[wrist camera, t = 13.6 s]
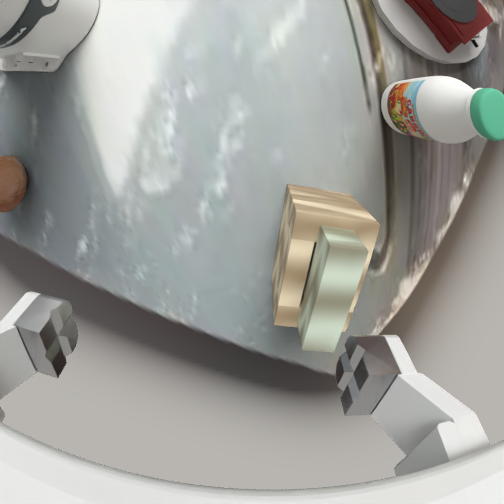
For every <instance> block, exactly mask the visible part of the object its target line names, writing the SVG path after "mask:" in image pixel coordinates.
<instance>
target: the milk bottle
mask: <svg viewBox="0 0 504 504" xmlns="http://www.w3.org/2000/svg"><path fill="white" fill-rule="evenodd" d="M381 110H382V114H383V116H384V119H385V120H386V122H387V123H388V125H389V126H390V127H391V128H392V129H394V130H395V131H397V132H399V133H401V134H405V135H409V136H414V137H418V138H423V139H427V140H432V141H436V142H441V143H447V144H457V143H462V142H465V141H468V140H469V139H471V138H473V137H474V136H476V135H478V136H480V137H482V138H487V139H490V140H495V141H500V140H503V139H504V95H503V94H502V93H501V92H500V91H498V90H496V89H492V88H477V89H472V88H471V87H469V86H468V85H467V84H465V83H464V82H462V81H460V80H458V79H455V78H452V77H448V76H429V77H421V78H414V79H408V80H403V81H398V82H395V83H392V84H391V85H389V86H388V87H387V88H386V89H385V91H384V93H383V95H382V99H381Z"/></svg>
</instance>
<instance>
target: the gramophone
mask: <svg viewBox="0 0 504 504" xmlns="http://www.w3.org/2000/svg"><path fill="white" fill-rule="evenodd" d="M372 2H373V4H374V7H375V9H376V11H377V14H378V15H379V16H380V18H381V19H382V20H383V22H384V23H385V25H386V26H387V27H388V29H389V30H390V31H391V33H392V34H394V35H395V36H396V37H397V38H398V39H399V40H400V41H401V42H402V43H404V44H405V45H406V46H407V47H408V48H409V49H411V50H413V51H414V52H416V53H418V54H419V55H421V56H423V57H424V58H426V59H429V60H432V61H436V62H439V63H442V64H455V63H465V62H468V61H469V60H471V59H473V58H475V57H477V56H478V55H479V53H480V52H481V50H482V49H483V47H484V46H485V41H486V35H487V26H488V25H489V24H490V23H491V22H492V21H493V20H492V18H491V17H490V16H489V14H488V13H487V11H486V10H485V9H484V7H483V6H482V4H481V3H480V2H479V0H372Z"/></svg>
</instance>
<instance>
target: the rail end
mask: <svg viewBox="0 0 504 504" xmlns="http://www.w3.org/2000/svg"><path fill="white" fill-rule="evenodd" d="M368 252H369V251H368V250H367V248H366V247H365V245H364V244H363V242H362V241H361V239H360V238H359V237H358V235H357V234H356V232H355V231H354V230H349V229H343V228H337V227H330V226H323V225H320V230H319V234H318V239H317V242H314V247H313V251H312V256H311V260H310V264H309V269H308V273H307V277H306V281H305V285H304V289H303V301H302V305H301V309H300V313H299V317H298V321H297V322H298V329H299V337H300V344H301V350H307V351H322V352H334V350H335V348H336V345H337V342H338V340H339V337H340V335H341V332H342V329H343V327H344V324H345V321H346V319H347V316H348V313H349V310H350V307H351V305H352V302H353V299H354V296H355V293H356V290H357V287H358V284H359V281H360V278H361V275H362V271H363V268H364V265H365V262H366V259H367V255H368Z"/></svg>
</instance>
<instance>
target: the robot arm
mask: <svg viewBox="0 0 504 504" xmlns="http://www.w3.org/2000/svg"><path fill="white" fill-rule="evenodd" d="M98 8H99V0H0V70H1V71H36V72H55V71H56V70H57V69H58V68H59V66H60V65H61V63H62V62H63V60H64V58H65V56H66V55H67V54H68V53H69V52H70V51H71V50H73V49H74V48H75V47H76V46H77V45H78V44H79V43H80V42H81V41H82V40H83V38H84V37H85V36H86V35H87V33H88V32H89V30H90V28H91V27H92V25H93V23H94V21H95V18H96V16H97V12H98ZM47 64H48V66H47ZM71 314H72V308H71V304H70V303H69V302H68V301H66V300H62V299H59V298H54V297H51V296H47V295H43V294H39V293H35V292H27V293H26V294H25V295H24V296H23V297H22V298H21V299H20V300H19V301H18V302H17V304H16V305H15V306H14V307H13V308H12V309H11V310H10V311H9V313H8V314H7V315H6V316H5V317H4V318H3V320H2V321H0V399H1V398H3V397H4V396H5V395H7V394H8V393H10V392H11V391H12V390H14V389H15V388H16V387H18V386H19V385H20V384H22V383H23V382H24V381H26V380H27V379H29V378H30V377H31V376H33V375H34V374H35V373H36V371H37V372H41V373H43V374H46V375H50V376H53V377H56V378H58V377H59V375H60V374H61V372H62V370H63V368H64V366H65V365H66V363H67V362H66V357H65V356H67V355H69V354H70V353H72V352H73V350H74V348H75V347H76V343H77V339H78V330H77V326H76V323H75V322H74V321H73V319H72V318H71V317H70V316H71ZM345 348H346V352H345V353H343V354H342V355H341V356H340V357H339V360H338V362H337V366H336V381H337V386H338V387H339V388H341V390H343V391H344V392H343V394H342V396H341V402H342V406H343V410H344V414H345V416H347V415H370V414H371V417H372V418H373V419H374V420H375V421H376V422H377V423H378V424H379V426H380V427H382V429H383V430H384V431H385V432H386V433H387V434H388V436H389V437H390V438H391V439H392V440H393V441H394V442H395V443H396V444H397V445H398V446H399V448H400V449H401V450H402V451H403V452H404V453H405V454H406V455H407V456H406V457H405V458H404V459H403V460H402V461H401V462H399V463H398V464H397V466H396V467H395V468H394V469H395V474H396V476H395V477H391V478H386V479H381V480H375V481H370V482H364V483H357V484H350V485H343V486H334V487H323V488H310V489H289V490H255V489H234V488H221V487H210V486H201V485H193V484H186V483H180V482H174V481H168V480H163V479H158V478H153V477H147V476H143V475H139V474H135V473H131V472H127V471H123V470H119V469H116V468H112V467H109V466H105V465H102V464H99V463H96V462H92V461H89V460H86V459H83V458H81V457H78V456H75V455H72V454H70V453H67V452H64V451H62V450H59V449H56V448H54V447H52V446H50V445H47V444H45V443H42V442H40V441H38V440H36V439H34V438H31V437H29V436H27V435H25V434H23V433H21V432H19V431H17V430H15V429H13V428H11V427H9V426H7V425H6V424H4V423H2V421H3V419H4V417H5V414H4V411H3V410H2V409H1V407H0V504H504V440H503V441H500V442H498V443H496V444H494V445H491V446H490V443H489V442H488V439H487V437H486V435H485V432H484V430H483V428H482V426H481V424H480V422H479V420H478V418H477V416H476V414H475V413H474V412H473V411H472V410H470V409H469V408H468V407H466V406H465V405H464V404H462V403H461V402H460V401H458V400H457V399H456V398H454V397H453V396H452V395H450V394H449V393H448V392H446V391H445V390H444V389H442V388H441V387H439V386H438V385H437V384H436V383H434V382H433V381H432V380H430V379H429V378H427V377H426V376H425V375H423V374H422V373H417V371H416V369H415V368H414V365H413V363H412V361H411V359H410V357H409V355H408V353H407V351H406V349H405V347H404V346H403V344H402V342H401V340H400V338H399V337H398V336H397V335H381V336H379V335H350V336H349V337H348V339H347V341H346V343H345Z"/></svg>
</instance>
